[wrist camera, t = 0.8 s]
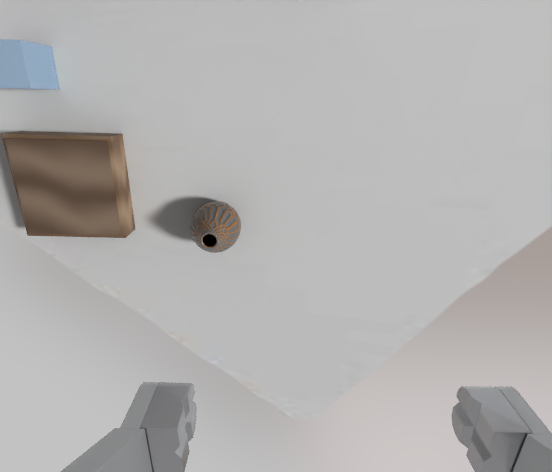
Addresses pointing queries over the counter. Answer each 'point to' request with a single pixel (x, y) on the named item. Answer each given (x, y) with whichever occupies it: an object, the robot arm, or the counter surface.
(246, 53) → the counter surface
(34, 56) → the slate block
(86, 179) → the walnut plinth
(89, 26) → the counter surface
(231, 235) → the vase
